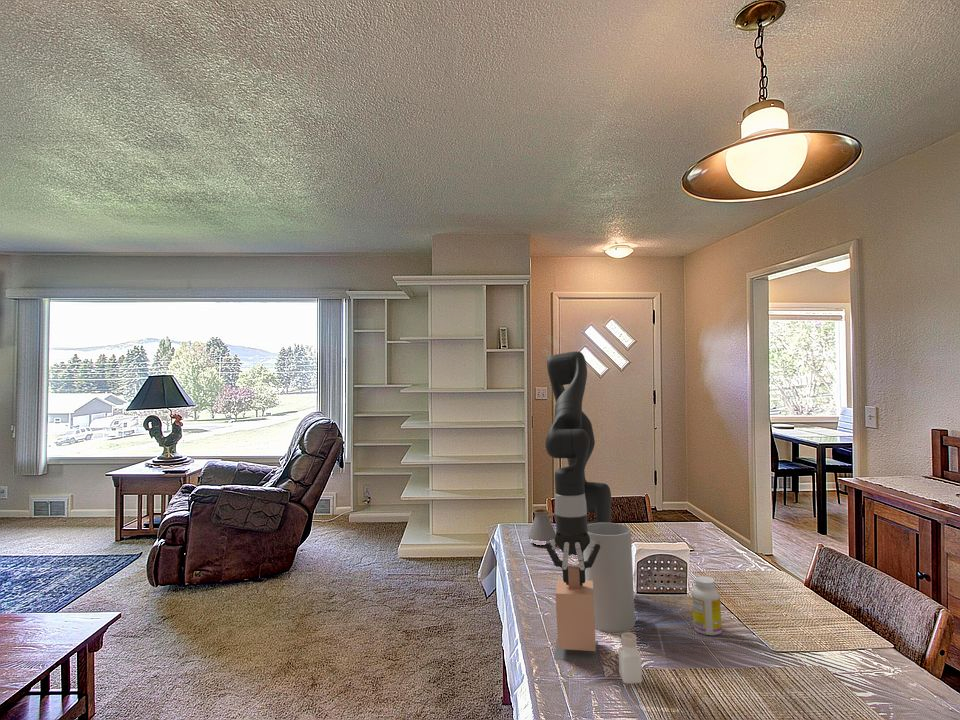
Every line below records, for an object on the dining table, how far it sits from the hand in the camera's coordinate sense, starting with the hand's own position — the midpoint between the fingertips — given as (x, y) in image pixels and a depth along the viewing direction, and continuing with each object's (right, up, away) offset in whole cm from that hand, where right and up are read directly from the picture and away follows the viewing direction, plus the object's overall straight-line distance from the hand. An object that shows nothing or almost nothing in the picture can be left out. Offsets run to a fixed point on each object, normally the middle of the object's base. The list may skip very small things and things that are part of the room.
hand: (574, 583), depth 128 cm
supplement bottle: (+36, -15, +8) cm, 40 cm away
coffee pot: (+7, -20, +87) cm, 89 cm away
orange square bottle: (+1, -13, -1) cm, 13 cm away
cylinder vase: (+12, -16, +13) cm, 25 cm away
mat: (0, -16, -1) cm, 16 cm away
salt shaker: (+10, -15, -13) cm, 23 cm away
